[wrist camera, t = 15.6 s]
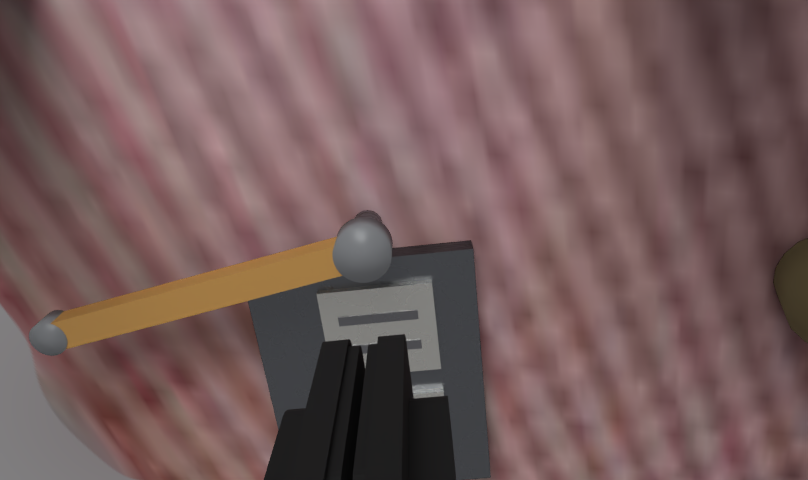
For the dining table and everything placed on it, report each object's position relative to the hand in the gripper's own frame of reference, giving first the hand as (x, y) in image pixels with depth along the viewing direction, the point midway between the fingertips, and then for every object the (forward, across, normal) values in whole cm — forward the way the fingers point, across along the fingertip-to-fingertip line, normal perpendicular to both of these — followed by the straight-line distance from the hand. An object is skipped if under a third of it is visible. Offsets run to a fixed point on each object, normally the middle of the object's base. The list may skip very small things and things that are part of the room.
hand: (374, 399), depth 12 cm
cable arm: (+26, +13, +9) cm, 30 cm away
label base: (+29, +4, +18) cm, 34 cm away
